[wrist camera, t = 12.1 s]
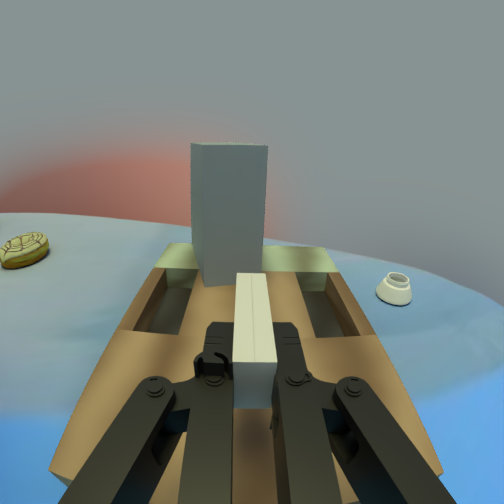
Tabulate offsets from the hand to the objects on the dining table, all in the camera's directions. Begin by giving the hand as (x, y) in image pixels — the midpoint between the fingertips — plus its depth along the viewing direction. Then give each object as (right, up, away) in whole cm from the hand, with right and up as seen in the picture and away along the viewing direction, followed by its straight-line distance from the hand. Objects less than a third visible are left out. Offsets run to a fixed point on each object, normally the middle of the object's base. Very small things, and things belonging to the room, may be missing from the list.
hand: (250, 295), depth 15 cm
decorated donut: (-41, +1, +24) cm, 47 cm away
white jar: (+18, -4, +19) cm, 27 cm away
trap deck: (0, -6, +10) cm, 12 cm away
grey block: (-4, +1, +20) cm, 20 cm away
